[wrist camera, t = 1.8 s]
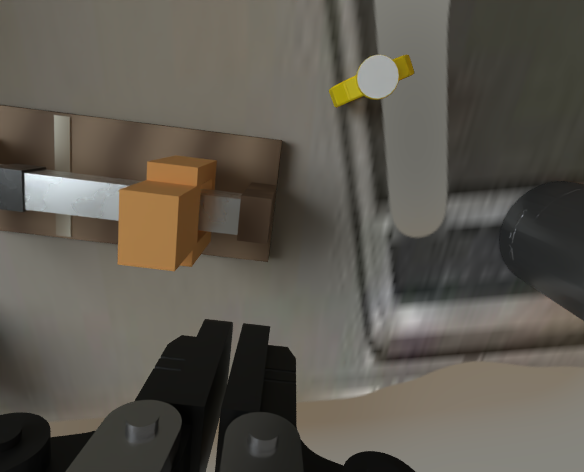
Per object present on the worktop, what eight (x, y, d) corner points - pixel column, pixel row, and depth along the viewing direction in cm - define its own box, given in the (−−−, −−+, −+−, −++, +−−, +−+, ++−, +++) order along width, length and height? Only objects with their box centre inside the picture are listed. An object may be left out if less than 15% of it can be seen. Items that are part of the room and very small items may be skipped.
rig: (282, 140, 34) (276, 144, 24) (268, 256, 37) (259, 305, 26) (-15, 103, 33) (-150, 91, 23) (-9, 223, 36) (-128, 260, 26)
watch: (337, 116, 34) (340, 116, 28) (324, 83, 33) (325, 76, 28) (408, 86, 33) (426, 80, 27) (397, 51, 32) (413, 37, 27)
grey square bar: (245, 191, 29) (241, 197, 27) (242, 228, 30) (237, 237, 28) (-42, 156, 29) (-75, 158, 26) (-39, 194, 30) (-71, 200, 27)
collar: (216, 160, 31) (180, 174, 21) (210, 241, 32) (173, 290, 22) (176, 155, 31) (119, 167, 21) (171, 236, 32) (117, 284, 22)
